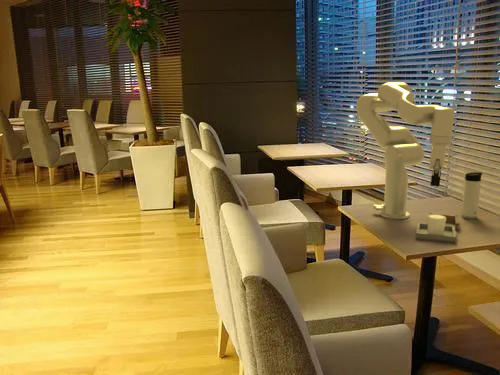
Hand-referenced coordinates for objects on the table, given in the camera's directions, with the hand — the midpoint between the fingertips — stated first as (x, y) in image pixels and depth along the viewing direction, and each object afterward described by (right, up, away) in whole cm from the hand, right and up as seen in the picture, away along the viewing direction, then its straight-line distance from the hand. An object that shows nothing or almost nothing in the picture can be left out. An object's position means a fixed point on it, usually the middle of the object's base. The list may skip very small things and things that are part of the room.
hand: (435, 182), depth 188 cm
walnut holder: (+7, -17, +10) cm, 22 cm away
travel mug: (+23, -15, +21) cm, 35 cm away
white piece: (-1, -20, -3) cm, 20 cm away
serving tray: (-1, -21, -3) cm, 21 cm away
